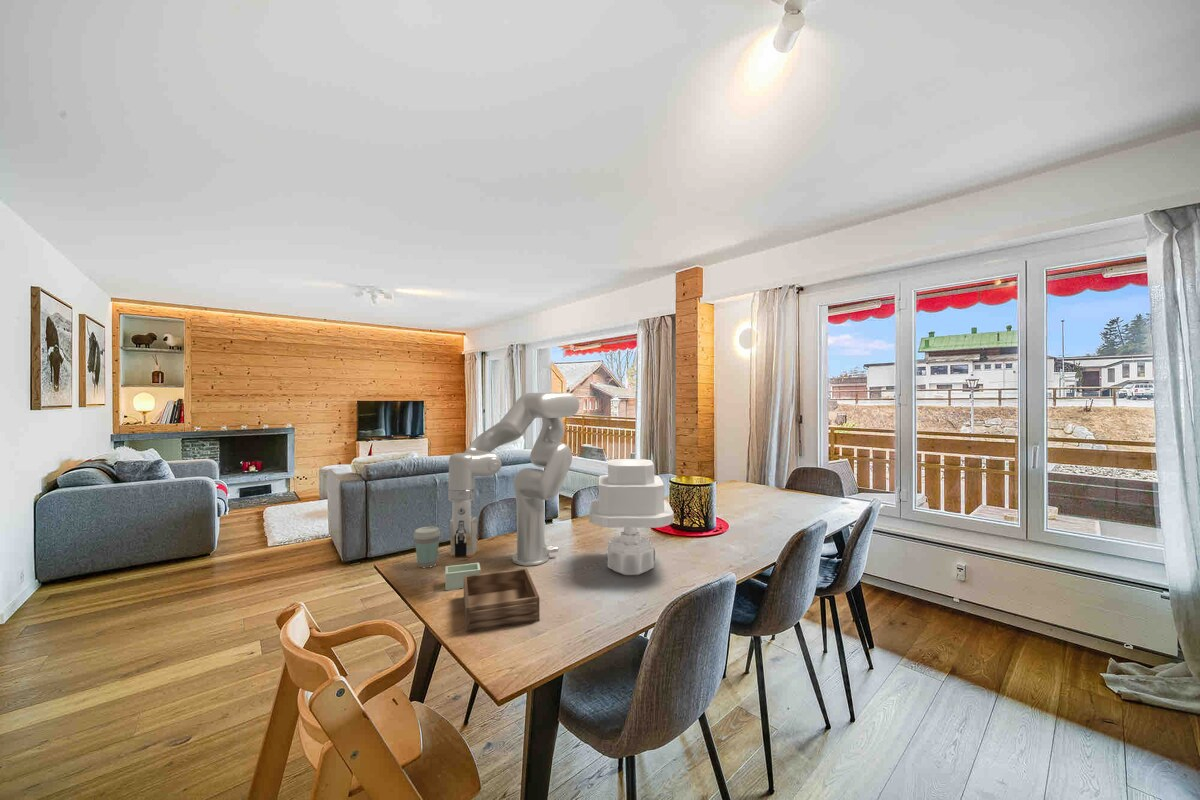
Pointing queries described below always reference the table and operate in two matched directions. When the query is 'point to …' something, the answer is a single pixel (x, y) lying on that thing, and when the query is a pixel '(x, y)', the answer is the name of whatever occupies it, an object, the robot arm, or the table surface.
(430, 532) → the coffee cup
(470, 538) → the supplement box
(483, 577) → the walnut crate
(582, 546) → the table surface
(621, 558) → the white tiered cake stand
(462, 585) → the sage crate
